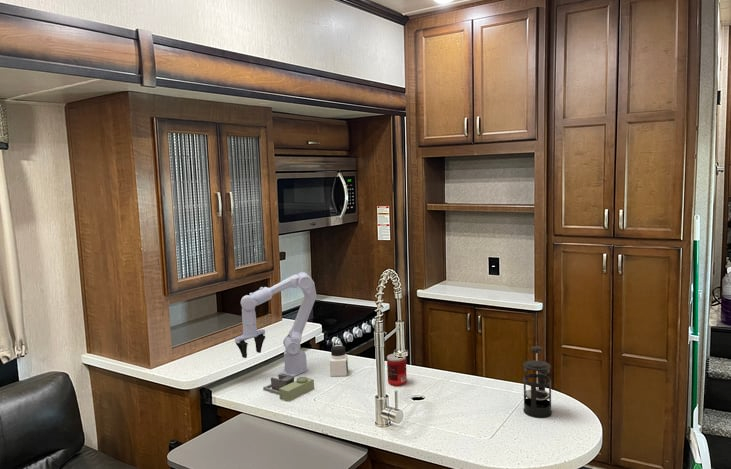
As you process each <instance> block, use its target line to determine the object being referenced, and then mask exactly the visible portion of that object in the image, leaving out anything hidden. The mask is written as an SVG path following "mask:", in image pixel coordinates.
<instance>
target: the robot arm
mask: <svg viewBox="0 0 731 469" xmlns="http://www.w3.org/2000/svg"><path fill="white" fill-rule="evenodd" d="M298 287H299V289H300V290H301V291H302V293H303V295H304V296H303V299H302V302H301V304H300V305H299V309H298V312H297V313H296V314H297V315H296V317H295V319H294V322H293V325H292V327H291V329H290V330H289V332H288V334H287V335H286V336H285V337H284V339H283V341H282V344H283V346H284V348H285V349H284V351H283V361H284V363H283V364H284V370H283V371H280V374H283V375H287V376H291V377H294V378H295V377H297V376H298V375H301V374H303V373H306V372H307V371H309V369H308V364H307V363H308V361H307V354H306V352H305V351H304V350H302V349H301V342H302V337H303V332H304V330H305V327H306V326H307V325H306V324H307V323H308V319H309V317H310V315H311V312H312V309H313V307H314V304H315V301H316V299H317V291H316V286H315V282H314V280H313V278H312V277H311V276H309V274H308V273H307V272H304V271H300V272H298V273H297V274H292V275H290V276H289V277H287V278H284V280H282V281H280V282H278V283H276V284H273V286H270V287H267V286H264V287H263V286H261V287H259V289H258V290H256V291H254V292H250V293H249V295H248V294H246V295H244V296H242V298H241V300H240V306H241V319H242V320H241V322H242V334H241V335H238V336H237V337H235V338H234V342H235V344H236V347H238V350H239V351H240V354H241V356H242V358H243V359H246V358H247V357H248V352H247V351H248V345H249V343H248V342H246V341H247V340H251V339H253V340H254V342H255V351H256V353H258V354H259V353H261V352H262V347H263V343H264V341H265V339H266V335H265V334H266V330H265V329H258V327H257V314H256V306H259V305H261V304H263V303H266V302H268V301H269V300H271V299H272V297H273V295H275V294H278V293H280V292H282V291H285V290H287V289H289V288H293V289H298Z"/></svg>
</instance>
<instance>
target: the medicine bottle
mask: <svg viewBox="0 0 731 469" xmlns="http://www.w3.org/2000/svg"><path fill="white" fill-rule="evenodd" d="M330 352H331V353H330V358H329V372H330V377H332V378H333V377H347V376H348V375H349V374H348V372H349V362H348V354H346V346H344V345H341V344H337V345H333V346H332V347H331V348H330Z"/></svg>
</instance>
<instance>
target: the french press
mask: <svg viewBox="0 0 731 469" xmlns="http://www.w3.org/2000/svg"><path fill="white" fill-rule="evenodd" d="M530 350H532V351H535V358H536V360H532V359H531V360H526V361H524V362H523V364H522V365H523V367H524V372H525V373H526V372H529V371H531V370H532V371H536V373H528V374H526V375H524V376H523V413H524V414H525V415H527V416H528V417H531V418H537V419H545V418H549V417H551V416H552V414H553V411H552V379H551V377H550V376H548V374H550V369H551V368H552V366H551V364H550V363H549V362H547V361H543V360H538V354H539V351H540V352H541V351H543V350H544V348H543V347H541V346H538V345H536V346H531V347H530ZM531 378H536V382H530V381H528V379H531ZM546 381H547V382H546ZM527 386H528V387H530V389H527V388H526V387H527ZM546 387H547V388H549V389H548V391H549V392H548V391H547V390H546Z"/></svg>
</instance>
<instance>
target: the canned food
mask: <svg viewBox="0 0 731 469" xmlns="http://www.w3.org/2000/svg"><path fill="white" fill-rule="evenodd" d="M386 368H387V370H386V371H387V382H388V385H390V386H391V387H392V386H393V387H402V386H404V385H406V384H407V381H408V380H407V378H408V377H407V356H406V357H403V358H398V357H395V356H394V353H391V354H388V355H387V356H386Z"/></svg>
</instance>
